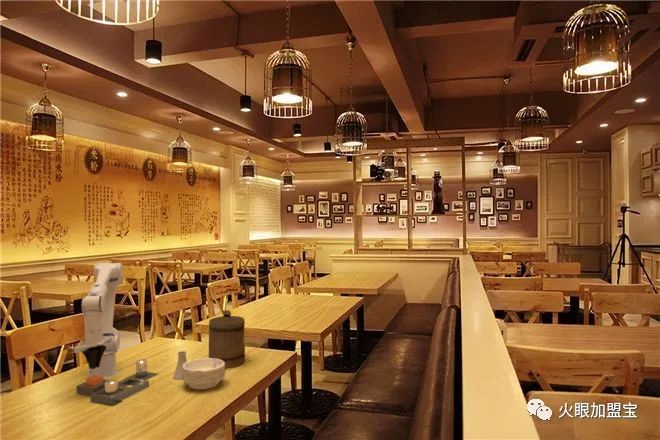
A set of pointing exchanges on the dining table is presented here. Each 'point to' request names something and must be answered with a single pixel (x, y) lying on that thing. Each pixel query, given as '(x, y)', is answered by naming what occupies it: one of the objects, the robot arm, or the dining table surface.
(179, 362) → the flask
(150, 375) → the rubber mat
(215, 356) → the wooden container
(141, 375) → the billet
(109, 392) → the light bulb
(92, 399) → the grey flat rectangular frame
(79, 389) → the button housing
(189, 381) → the paper bowls
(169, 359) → the dining table surface
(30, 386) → the dining table surface
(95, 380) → the button
